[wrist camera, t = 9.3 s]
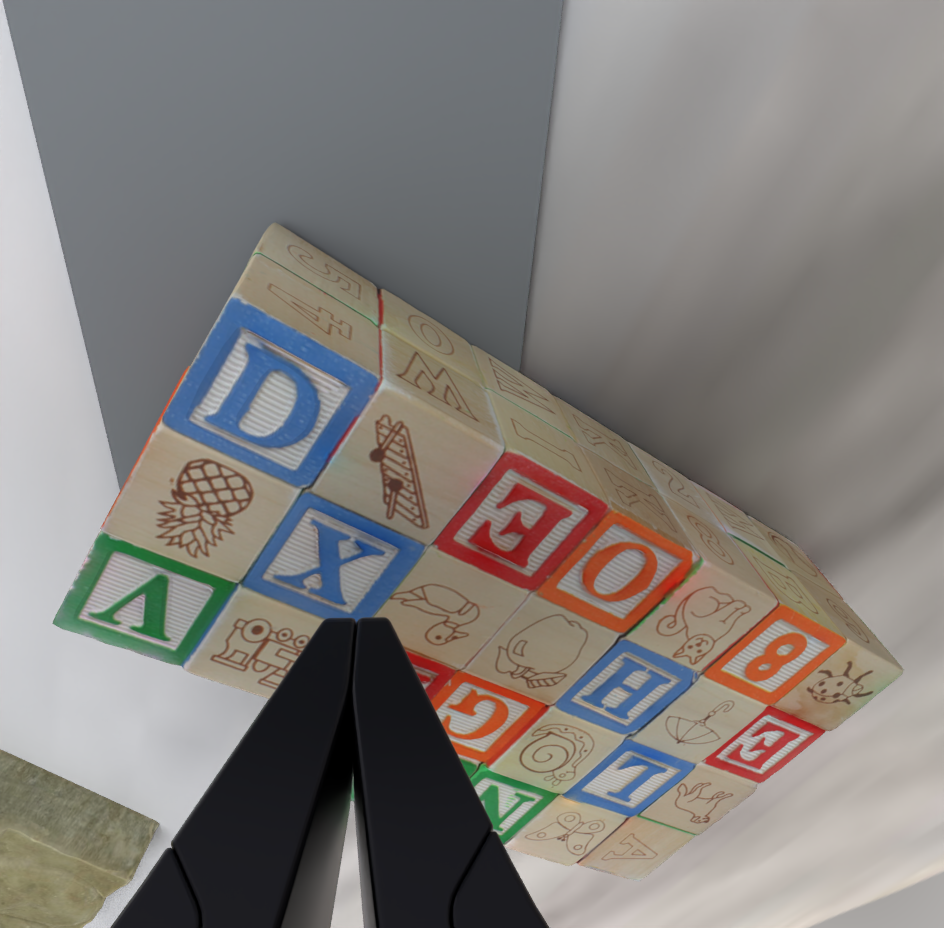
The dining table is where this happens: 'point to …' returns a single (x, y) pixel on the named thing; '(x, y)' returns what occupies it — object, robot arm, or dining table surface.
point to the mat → (283, 163)
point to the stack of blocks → (472, 567)
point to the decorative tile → (61, 848)
